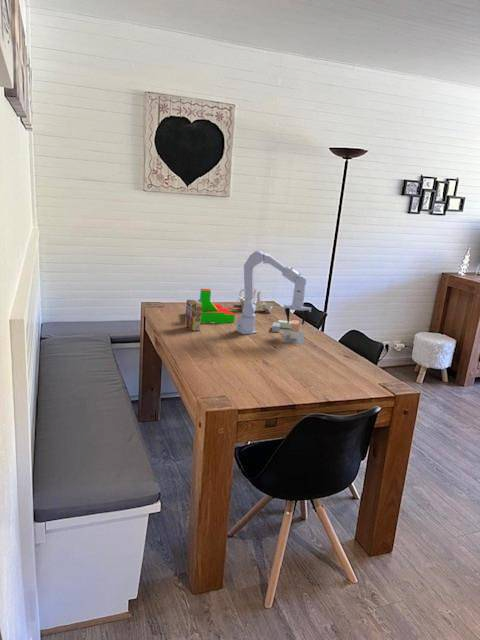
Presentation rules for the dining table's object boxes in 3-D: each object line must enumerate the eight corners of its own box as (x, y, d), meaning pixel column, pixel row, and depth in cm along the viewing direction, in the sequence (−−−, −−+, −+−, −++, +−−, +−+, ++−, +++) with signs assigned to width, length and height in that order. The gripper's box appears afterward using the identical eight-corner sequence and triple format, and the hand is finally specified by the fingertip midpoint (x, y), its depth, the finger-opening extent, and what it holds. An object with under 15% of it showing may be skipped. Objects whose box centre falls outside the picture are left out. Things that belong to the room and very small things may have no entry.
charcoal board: (304, 345, 242) (304, 344, 242) (282, 342, 243) (283, 341, 243) (303, 333, 263) (303, 331, 263) (283, 330, 264) (284, 329, 264)
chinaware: (276, 314, 305) (280, 288, 302) (264, 316, 291) (268, 289, 288) (239, 306, 319) (243, 281, 316) (226, 307, 304) (229, 281, 302)
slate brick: (279, 333, 259) (279, 326, 258) (271, 333, 259) (272, 325, 258) (279, 329, 266) (280, 322, 265) (272, 328, 267) (273, 322, 266)
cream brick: (297, 339, 249) (298, 332, 248) (290, 338, 249) (290, 331, 248) (297, 334, 257) (298, 327, 256) (290, 334, 257) (291, 327, 256)
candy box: (200, 330, 252) (202, 302, 248) (194, 331, 249) (195, 303, 245) (191, 326, 258) (193, 298, 254) (184, 327, 256) (186, 299, 252)
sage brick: (291, 328, 271) (292, 321, 270) (291, 330, 267) (292, 323, 266) (277, 326, 272) (278, 320, 271) (277, 328, 268) (278, 321, 267)
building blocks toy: (234, 324, 270) (237, 292, 265) (190, 323, 265) (192, 291, 260) (229, 315, 288) (231, 285, 283) (187, 314, 283) (189, 284, 278)
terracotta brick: (298, 332, 248) (299, 324, 247) (290, 331, 248) (291, 323, 247) (298, 327, 255) (299, 320, 254) (290, 327, 256) (291, 319, 255)
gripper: (284, 298, 244) (281, 323, 248) (312, 301, 243) (309, 326, 246) (284, 295, 251) (281, 320, 255) (312, 298, 250) (308, 323, 253)
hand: (295, 323), depth 251 cm, fingers open, 7 cm apart
